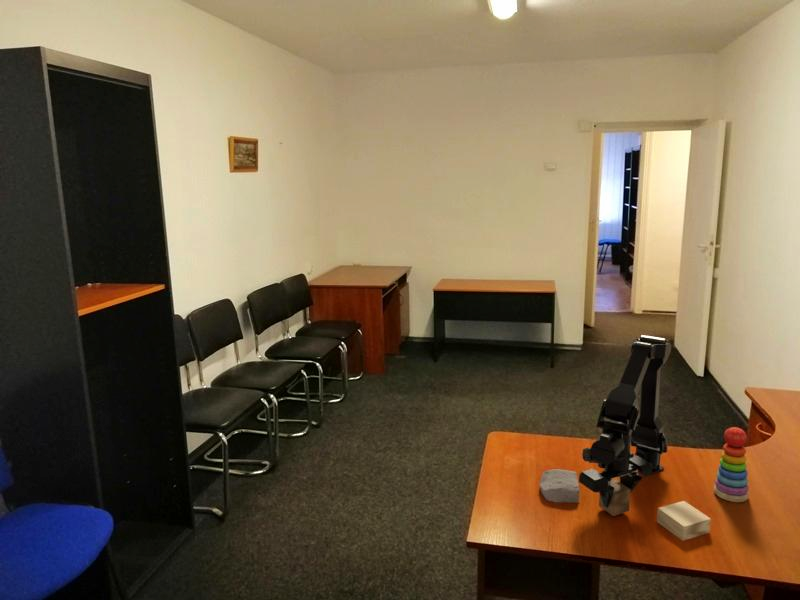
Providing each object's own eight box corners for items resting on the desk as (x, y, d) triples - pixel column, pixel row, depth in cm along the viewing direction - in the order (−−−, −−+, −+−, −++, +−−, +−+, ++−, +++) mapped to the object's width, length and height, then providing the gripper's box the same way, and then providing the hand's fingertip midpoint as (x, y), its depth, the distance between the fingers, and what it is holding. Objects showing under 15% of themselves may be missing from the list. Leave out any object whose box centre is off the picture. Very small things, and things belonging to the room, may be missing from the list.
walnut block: (614, 500, 149) (615, 479, 148) (628, 510, 145) (630, 489, 143) (598, 505, 147) (600, 484, 146) (613, 516, 143) (614, 494, 141)
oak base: (682, 515, 144) (683, 500, 144) (709, 533, 137) (710, 518, 136) (656, 522, 142) (658, 508, 141) (682, 542, 135) (684, 526, 134)
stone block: (543, 508, 152) (582, 504, 150) (540, 491, 151) (579, 487, 149) (541, 485, 163) (577, 481, 161) (538, 469, 163) (575, 465, 160)
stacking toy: (746, 490, 154) (754, 424, 149) (749, 506, 147) (758, 438, 142) (712, 484, 157) (719, 419, 152) (714, 500, 150) (721, 433, 145)
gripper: (622, 425, 153) (618, 479, 156) (565, 441, 145) (562, 497, 149) (656, 443, 143) (651, 500, 147) (596, 461, 136) (593, 520, 139)
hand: (614, 503), depth 146 cm, fingers closed on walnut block, 5 cm apart
